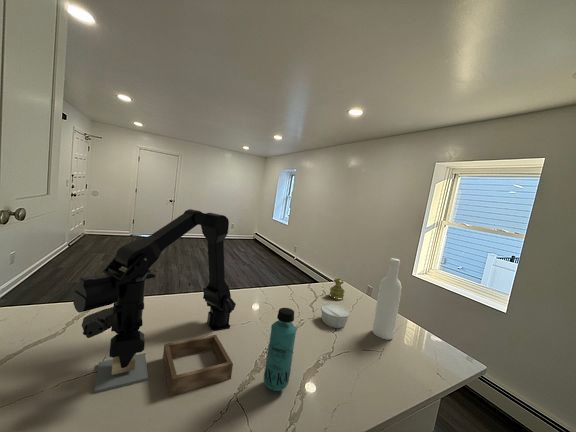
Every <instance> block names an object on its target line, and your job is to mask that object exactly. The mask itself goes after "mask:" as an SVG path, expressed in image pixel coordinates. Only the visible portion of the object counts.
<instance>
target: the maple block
mask: <svg viewBox="0 0 576 432" xmlns="http://www.w3.org/2000/svg"><path fill="white" fill-rule="evenodd" d="M136 355H137V353H135V354H134V356H133V358H132V359H131V361H130V362H129V364H128V366H127V367H125V368H121V364H120V359H119V356H118V357H113V358H112V359H113V362H112V375H113V374H118V373H122V372H127V371H131V370H135V360H136Z"/></svg>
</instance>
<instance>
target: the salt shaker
mask: <svg viewBox="0 0 576 432" xmlns="http://www.w3.org/2000/svg"><path fill="white" fill-rule="evenodd" d="M333 282H334V283H335V284H334V285H333V286H331V287H330V288H329V290H330V291H329V298H331V300H332V299H333V300H335V301H343V300H344V298H345V295H344V294H345V293H346V291H345V290H344V288H343V287H342V285H343V284H344V281H343V280H342V279H341V278H335V279H333ZM330 295H331V296H330ZM334 297H335V298H334ZM343 297H344V298H343ZM338 298H342V299H338Z"/></svg>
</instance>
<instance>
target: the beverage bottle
mask: <svg viewBox="0 0 576 432" xmlns="http://www.w3.org/2000/svg"><path fill="white" fill-rule="evenodd" d="M276 318H277V320H276V321H275V322H273V323H272V324H271V327H270V328H271V329H270V337H269V341H268V342H269V343H268V346H267V352H266V353H267V354H266V356H265V357H266V358H265V367H264V370H263V371H264V372H263V383H264V385H265V386H266V388H267V389H270V390H272V391H277V392H278V391H283V390H284V389H286V388H287V386H288V385H289V382H290V378H291V377H290V375H291V371H292V363H293V355H294V347H295V342H296V341H295V340H296V335H297V328H296V326H295V325H294V324H293V322H294V320H295V311H294V310H293V309H292V308H290V307H281V308H279V310H278V313H277V317H276Z"/></svg>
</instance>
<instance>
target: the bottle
mask: <svg viewBox="0 0 576 432" xmlns="http://www.w3.org/2000/svg"><path fill="white" fill-rule="evenodd" d="M400 266H401V260H400V259H398V258H395V257H391V258H389V262H388V270H387V274H386V275H385V276H384V277H382V279H381V281H380V282H379V289H378V295H377V301H376V307H375V313H374V319H373V323H372V333H373V334H374V335H375V336H376V337H378V338H380V339H383V340H387V341H388V340H393V339H394V335H395V331H396V325H397V324H396V323H397V318H398V314H399V307H400V300H401V295H402V289H403V288H402V283H401V281H400V279H399V277H398V276H399V270H400Z"/></svg>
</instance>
